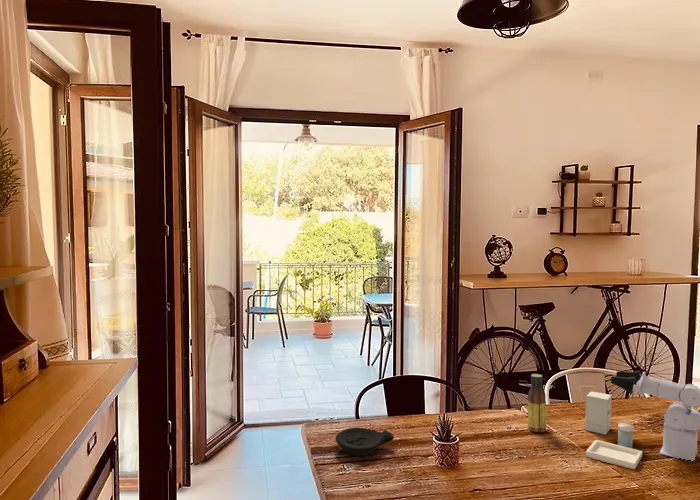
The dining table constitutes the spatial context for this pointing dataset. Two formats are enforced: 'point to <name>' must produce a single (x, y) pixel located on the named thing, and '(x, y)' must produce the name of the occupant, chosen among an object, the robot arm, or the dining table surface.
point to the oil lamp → (362, 440)
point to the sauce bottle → (536, 405)
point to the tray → (614, 454)
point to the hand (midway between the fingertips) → (613, 377)
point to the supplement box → (598, 412)
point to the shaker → (625, 435)
